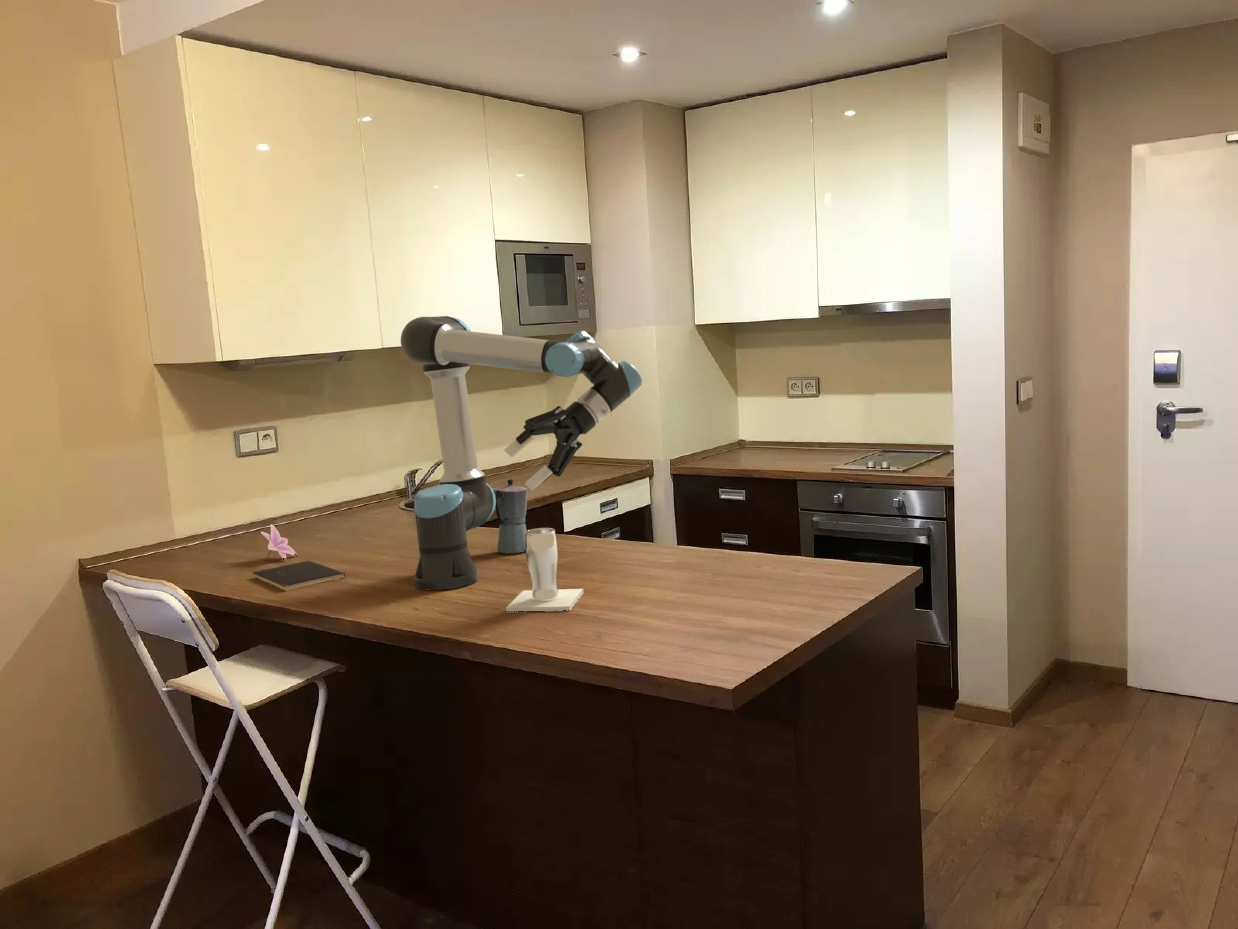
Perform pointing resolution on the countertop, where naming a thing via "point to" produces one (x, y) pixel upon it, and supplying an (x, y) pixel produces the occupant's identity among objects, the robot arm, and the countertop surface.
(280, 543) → the lily
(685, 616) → the countertop surface
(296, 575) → the hardcover book
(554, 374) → the robot arm
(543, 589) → the beer glass
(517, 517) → the moka pot
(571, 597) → the mat
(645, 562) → the countertop surface
